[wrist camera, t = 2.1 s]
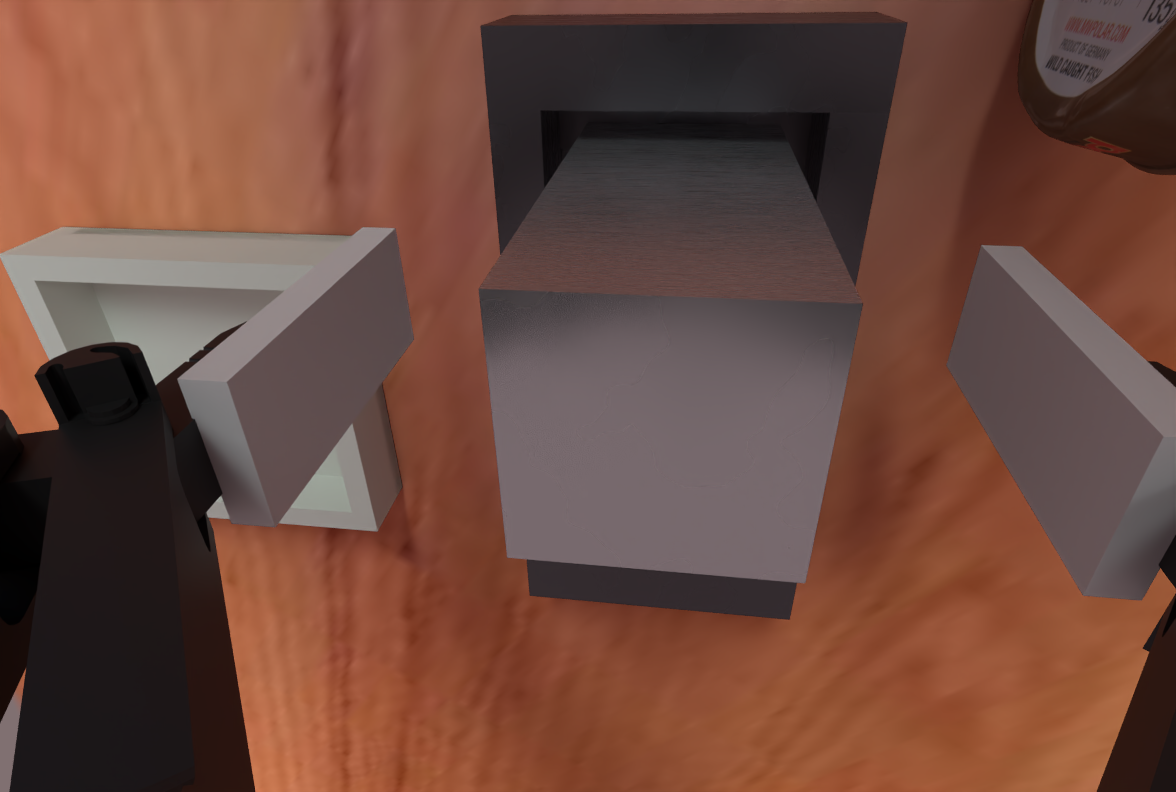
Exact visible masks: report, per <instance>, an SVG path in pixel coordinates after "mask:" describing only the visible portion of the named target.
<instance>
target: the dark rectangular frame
mask: <svg viewBox="0 0 1176 792" xmlns="http://www.w3.org/2000/svg"><path fill="white" fill-rule="evenodd" d="M906 27H907V22H904V21H901V20H898V19H895V18H893V17H890V16H887V15H884V14H881V13H878V12H825V13H714V14H604V15H511V16H508V17H505V18H502V19H499V20H496V21H493V22H490V23H487V24H484V25H481V37H482V48H483V60H484V71H485V83H486V94H487V106H488V118H489V129H490V141H491V152H492V164H493V175H494V187H495V199H496V210H497V222H498V233H499V245H500V255H501V254H502V252H503V251H504V249H505V248H506V246H507V245H508V243H509V242H510V240H511V239H512V237H513V236H514V234H515V233H516V231H517V230H518V228H519V226H520V225H521V223H522V222H523V220H524V219H525V217H526V216H527V214H528V213H529V211H530V210H531V208H532V207H533V205H534V204H535V202H536V201H537V199H538V198H539V196H540V194H541V193H542V191H543V190H544V188H545V187H546V185H547V184H548V182H549V181H550V179H551V178H552V176H553V175H554V173H555V172H556V170H557V169H558V167H559V166H560V164H561V162H562V161H563V159H564V158H565V156H566V155H567V153H568V152H569V150H570V149H571V147H572V146H573V144H574V143H575V141H576V140H577V138H578V137H579V135H580V133H581V132H582V130H583V129H584V127H585V126H586V124H587V123H660V124H763V125H781V127H782V129H783V131H784V134H785V136H786V138H787V140H788V142H789V144H790V147H791V149H792V151H793V153H794V155H795V157H796V160H797V162H798V164H799V166H800V168H801V171H802V173H803V175H804V177H805V179H806V181H807V184H808V186H809V188H810V190H811V192H812V194H813V197H814V199H815V201H816V203H817V205H818V207H819V210H820V212H821V214H822V216H823V218H824V220H825V223H826V225H827V227H828V229H829V231H830V233H831V236H832V238H833V240H834V242H835V244H836V247H837V249H838V251H839V253H840V255H841V257H842V260H843V262H844V264H845V266H846V268H847V270H848V273H849V275H850V277H851V279H852V281H853V283H854V286H855V285H856V280H857V275H858V270H859V265H860V260H861V255H862V250H863V245H864V240H865V235H866V230H867V225H868V220H869V214H870V209H871V204H872V199H873V194H874V189H875V184H876V179H877V174H878V169H879V164H880V159H881V154H882V149H883V144H884V138H885V133H886V128H887V123H888V118H889V113H890V108H891V103H892V98H893V93H894V88H895V83H896V78H897V73H898V68H899V62H900V57H901V52H902V47H903V42H904V37H905V32H906ZM527 569H528V581H529V592H530V596H540V597H551V598H562V599H572V600H583V601H594V602H605V603H616V604H626V605H637V606H648V607H659V608H670V609H680V610H691V611H702V612H713V613H724V614H734V615H745V616H756V617H767V618H777V619H788V620H790V615H791V610H792V605H793V600H794V594H795V589H796V584H797V583H795V582H784V581H772V580H761V579H749V578H737V577H726V576H714V575H703V574H691V573H679V572H668V571H656V570H645V569H633V568H622V567H610V566H598V565H587V564H575V563H564V562H552V561H540V560H529V559H527Z"/></svg>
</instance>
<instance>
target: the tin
mask: <svg viewBox="0 0 1176 792" xmlns="http://www.w3.org/2000/svg"><path fill="white" fill-rule="evenodd" d="M1017 76H1018V91H1019V95H1020V98H1021V101H1022V103H1023V105H1024V107H1025V109H1026V111H1027V112H1028V114H1029V116H1030V117H1031V119H1032V121H1033V122H1034V124H1035V125H1036V126H1037V127H1038V128H1039V129H1040V130H1041V131H1042V132H1044V133H1045V134H1047V135H1048V136H1050V137H1052V138H1055V139H1058V140H1061V141H1063V142H1066V143H1069V144H1072V145H1075V146H1079V147H1083V148H1086V149H1090V150H1094V151H1098V152H1101V153H1105V154H1109V155H1113V156H1116V157H1120V158H1123V159H1124V160H1126V161H1127V162H1128V163H1130V164H1131V165H1132V166H1134V167H1136V168H1138V169H1139V170H1142V171H1145V172H1147V173H1152V174H1159V175H1176V0H1033V3H1032V6H1031V9H1030V12H1029V16H1028V19H1027V22H1026V26H1025V30H1024V34H1023V39H1022V44H1021V49H1020V54H1019V64H1018V75H1017Z"/></svg>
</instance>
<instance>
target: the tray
mask: <svg viewBox="0 0 1176 792" xmlns="http://www.w3.org/2000/svg"><path fill="white" fill-rule="evenodd" d="M350 237H351V236H342V235H309V234H277V233H244V232H211V231H178V230H146V229H113V228H80V227H61V228H59V229H56V230H54V231H52V232H49V233H47V234H45V235H42V236H40V237H38V238H35V239H33V240H31V241H29V242H26V243H24V244H22V245H19V246H17V247H15V248H12V249H10V250H8V251H5V252H3V253H1V254H0V258H1V260H2V262H3V264H4V266H5V268H6V271H7V273H8V275H9V277H10V279H11V281H12V283H13V285H14V287H15V289H16V291H17V293H18V296H19V298H20V300H21V302H22V304H23V306H24V308H25V310H26V312H27V314H28V316H29V318H30V320H31V323H32V325H33V327H34V329H35V331H36V333H37V335H38V337H39V339H40V341H41V343H42V345H43V348H44V350H45V352H46V354H47V356H48V358H49V360H51V359H53V358H55V357H57V356H59V355H62V354H64V353H66V352H69V351H71V350H74V349H78V348H81V347H85V346H89V345H93V344H100V343H107V342H128V343H131V344H134V345H137V346H139V348H140V349H141V351H142V352H143V355H144V357H145V360H146V362H147V365H148V367H149V370H150V372H151V375H152V377H153V380H154V382H155V385H156V384H158V383H159V382H160V381H161V380H163V379H164V378H165V377H166V376H168V375H169V374H170V373H172V372H173V371H174V370H175V369H177V368H178V367H179V366H180V365H182V364H183V363H184V362H185V361H186V362H189V358H190V357H192V356H193V355H194V354H195V353H197V352H198V351H199V350H203V349H204V348H203V347H204V346H205V345H207V344H208V343H209V342H210V341H212V340H213V339H214V338H215V337H217V336H218V335H219V334H220V333H222V332H224V331H227V330H229V329H231V328H233V327H235V326H237V325H240V324H242V323H244V322H246V321H249V320H250V319H251V318H252V317H253V316H255V315H256V314H257V313H258V312H260V311H261V310H262V309H263V308H264V307H266V306H267V305H268V304H269V303H271V302H272V301H273V300H274V299H275V298H277V297H278V296H279V295H280V294H282V293H283V292H284V291H285V290H286V289H288V288H289V287H290V286H291V285H293V284H294V283H295V282H296V281H297V280H299V279H300V278H301V277H302V276H304V275H305V274H306V273H307V272H308V271H310V270H311V269H312V268H313V267H315V266H316V265H317V264H318V263H319V262H321V261H322V260H323V259H324V258H326V257H327V256H328V255H329V254H330V253H332V252H333V251H334V250H335V249H337V248H338V247H339V246H340V245H341V244H343V243H344V242H345V241H346V240H348V239H349V238H350ZM401 489H402V482H401V477H400V472H399V467H398V462H397V457H396V452H395V447H394V442H393V437H392V432H391V427H390V422H389V417H388V412H387V407H386V402H385V397H384V392H383V387H382V383H381V385H380V386H379V388H378V389H377V390H376V392H375V393H374V394H373V396H372V397H371V398H370V400H369V401H368V402H367V404H366V405H365V407H364V408H363V409H362V411H361V412H360V413H359V415H358V416H357V417H356V419H355V420H354V421H353V423H352V424H351V426H350V427H349V428H348V430H347V431H346V432H345V434H344V435H343V436H342V438H341V439H340V440H339V442H338V443H337V445H336V446H335V447H334V449H333V450H332V451H331V453H330V454H329V455H328V457H327V458H326V459H325V461H324V462H323V464H322V465H321V466H320V468H319V469H318V470H317V472H316V473H315V474H314V476H313V477H312V478H311V480H310V481H309V483H308V484H307V485H306V487H305V488H304V489H303V491H302V492H301V493H300V495H299V496H298V497H297V499H296V500H295V502H294V503H293V504H292V506H291V507H290V508H289V510H288V511H287V512H286V514H285V515H284V516H283V518H282V519H281V520H280V522H279V523H282V524H294V525H306V526H318V527H329V528H341V529H353V530H365V531H377V532H378V530H379V528H380V526H381V525H382V523H383V521H384V519H385V517H386V516H387V514H388V512H389V510H390V508H391V507H392V505H393V503H394V501H395V499H396V498H397V496H398V494H399V492H400V490H401ZM206 513H207V515H208V517H210V518H222V519H230V518H229V515H228V513H227V510H226V507H225V505H224V502H223V499H222V497H221V496H220V497H219V498H218V499H217V501H216V502H215V503H214V504H213V505H212V506H211V507H210V509H209V510H208V511H207V512H206Z"/></svg>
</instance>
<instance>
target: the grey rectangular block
mask: <svg viewBox="0 0 1176 792" xmlns="http://www.w3.org/2000/svg"><path fill="white" fill-rule="evenodd" d="M479 297H480V306H481V316H482V325H483V334H484V344H485V353H486V363H487V372H488V381H489V391H490V400H491V410H492V419H493V428H494V438H495V447H496V457H497V466H498V475H499V485H500V494H501V504H502V513H503V523H504V532H505V541H506V551H507V558H517V559H529V560H540V561H552V562H564V563H575V564H587V565H598V566H610V567H622V568H633V569H645V570H656V571H668V572H679V573H691V574H703V575H714V576H726V577H737V578H749V579H761V580H772V581H784V582H795V583H805V582H806V577H807V572H808V567H809V562H810V558H811V553H812V548H813V543H814V538H815V533H816V529H817V524H818V519H819V514H820V509H821V504H822V499H823V495H824V490H825V485H826V480H827V475H828V470H829V466H830V461H831V456H832V451H833V446H834V441H835V436H836V432H837V427H838V422H839V417H840V412H841V407H842V403H843V398H844V393H845V388H846V383H847V378H848V373H849V369H850V364H851V359H852V354H853V349H854V344H855V340H856V335H857V330H858V325H859V320H860V315H861V311H862V306H863V303H862V301H861V299H860V296H859V294H858V292H857V290H856V288H855V286H854V283H853V281H852V279H851V277H850V275H849V273H848V270H847V268H846V266H845V264H844V262H843V260H842V257H841V255H840V253H839V251H838V249H837V247H836V244H835V242H834V240H833V238H832V236H831V233H830V231H829V229H828V227H827V225H826V223H825V220H824V218H823V216H822V214H821V212H820V210H819V207H818V205H817V203H816V201H815V199H814V197H813V194H812V192H811V190H810V188H809V186H808V184H807V181H806V179H805V177H804V175H803V173H802V171H801V168H800V166H799V164H798V162H797V160H796V157H795V155H794V153H793V151H792V149H791V147H790V144H789V142H788V140H787V138H786V136H785V134H784V131H783V129H782V127H781V125H763V124H660V123H587V124H586V126H585V127H584V129H583V130H582V132H581V133H580V135H579V137H578V138H577V140H576V141H575V143H574V144H573V146H572V147H571V149H570V150H569V152H568V153H567V155H566V156H565V158H564V159H563V161H562V162H561V164H560V166H559V167H558V169H557V170H556V172H555V173H554V175H553V176H552V178H551V179H550V181H549V182H548V184H547V185H546V187H545V188H544V190H543V191H542V193H541V194H540V196H539V198H538V199H537V201H536V202H535V204H534V205H533V207H532V208H531V210H530V211H529V213H528V214H527V216H526V217H525V219H524V220H523V222H522V223H521V225H520V226H519V228H518V230H517V231H516V233H515V234H514V236H513V237H512V239H511V240H510V242H509V243H508V245H507V246H506V248H505V249H504V251H503V252H502V254H501V255H500V257H499V258H498V260H497V262H496V263H495V265H494V266H493V268H492V269H491V271H490V272H489V274H488V275H487V277H486V278H485V280H484V281H483V283H482V284H481V286H480V287H479Z"/></svg>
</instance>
